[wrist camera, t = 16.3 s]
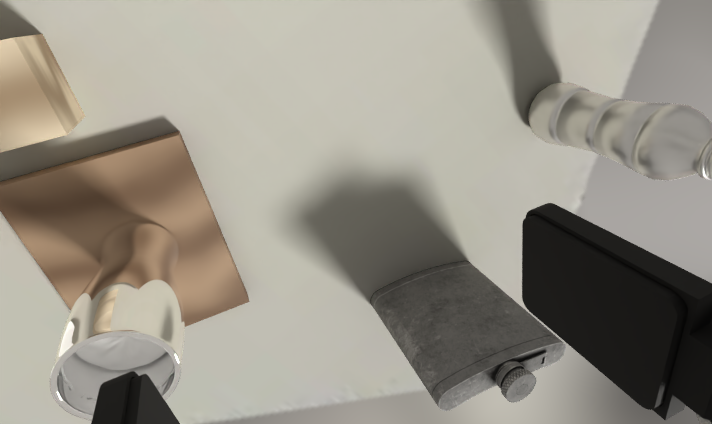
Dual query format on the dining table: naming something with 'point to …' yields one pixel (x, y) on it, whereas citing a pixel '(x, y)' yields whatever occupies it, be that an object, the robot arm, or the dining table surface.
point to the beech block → (33, 94)
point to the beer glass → (123, 320)
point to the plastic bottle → (626, 131)
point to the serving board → (124, 220)
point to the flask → (465, 334)
